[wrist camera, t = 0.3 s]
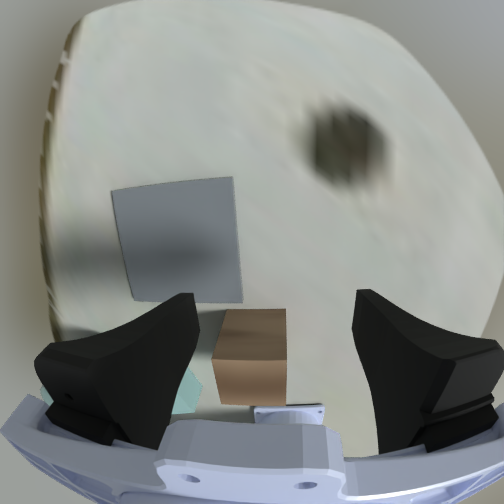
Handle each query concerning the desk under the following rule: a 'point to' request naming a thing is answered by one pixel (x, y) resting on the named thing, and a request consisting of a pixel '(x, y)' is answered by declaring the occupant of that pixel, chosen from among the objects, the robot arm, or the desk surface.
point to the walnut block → (252, 357)
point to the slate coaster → (181, 240)
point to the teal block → (187, 394)
